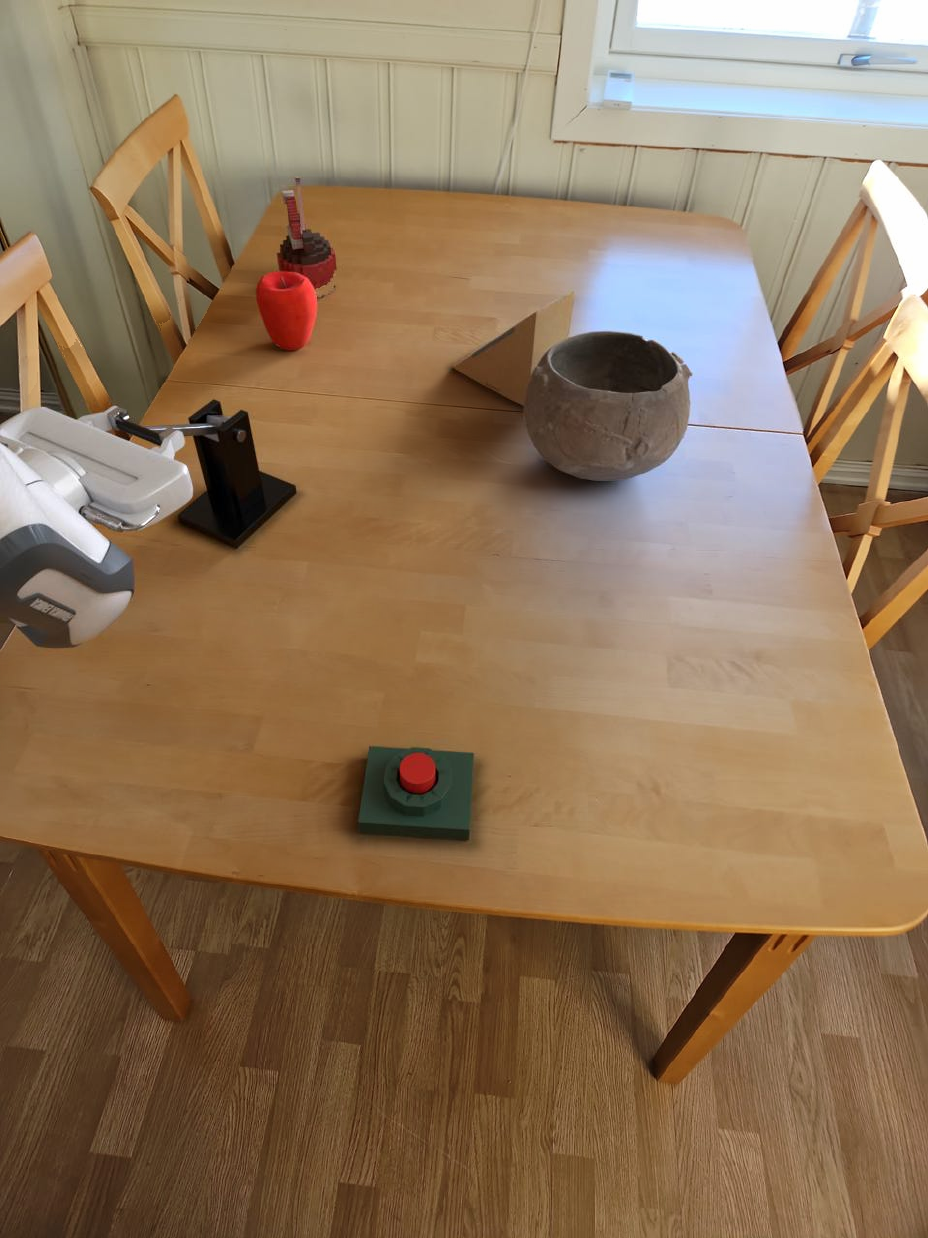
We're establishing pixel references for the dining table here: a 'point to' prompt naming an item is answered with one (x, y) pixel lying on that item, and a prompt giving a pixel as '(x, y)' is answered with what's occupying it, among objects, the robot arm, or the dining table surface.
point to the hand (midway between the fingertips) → (150, 423)
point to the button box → (417, 796)
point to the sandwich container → (519, 350)
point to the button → (417, 773)
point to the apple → (287, 308)
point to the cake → (305, 246)
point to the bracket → (232, 482)
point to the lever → (187, 429)
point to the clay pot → (607, 405)
